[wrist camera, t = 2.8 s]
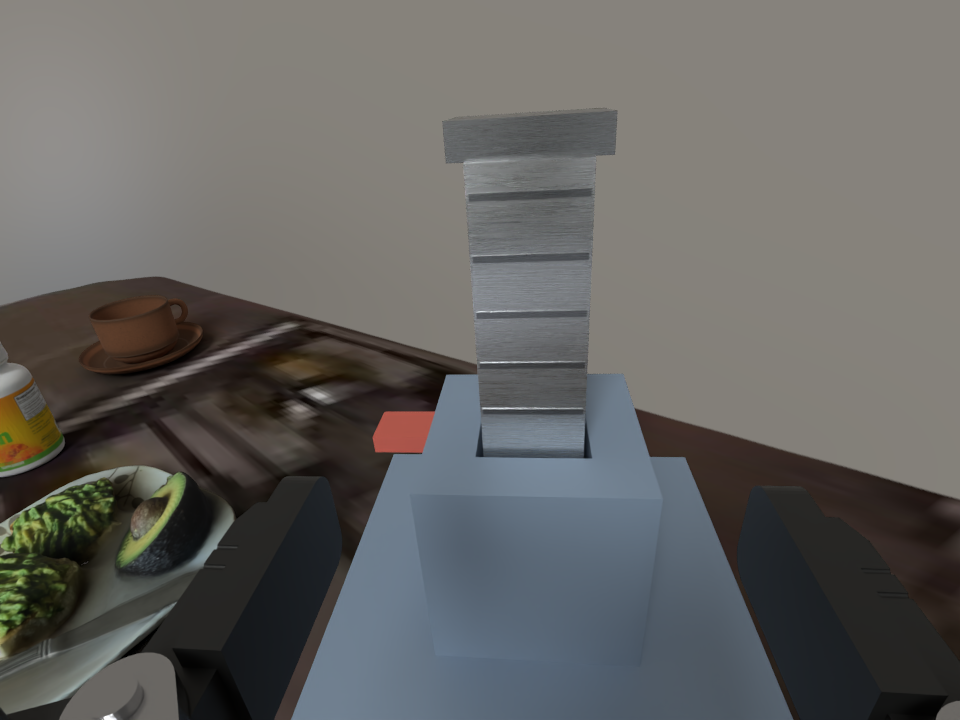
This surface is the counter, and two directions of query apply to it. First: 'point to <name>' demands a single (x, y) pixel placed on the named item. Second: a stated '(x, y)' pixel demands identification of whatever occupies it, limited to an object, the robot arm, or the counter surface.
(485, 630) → the jack stand base
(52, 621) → the salad plate
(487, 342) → the jack stand column
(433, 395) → the counter surface
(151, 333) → the cup and saucer
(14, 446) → the supplement bottle
